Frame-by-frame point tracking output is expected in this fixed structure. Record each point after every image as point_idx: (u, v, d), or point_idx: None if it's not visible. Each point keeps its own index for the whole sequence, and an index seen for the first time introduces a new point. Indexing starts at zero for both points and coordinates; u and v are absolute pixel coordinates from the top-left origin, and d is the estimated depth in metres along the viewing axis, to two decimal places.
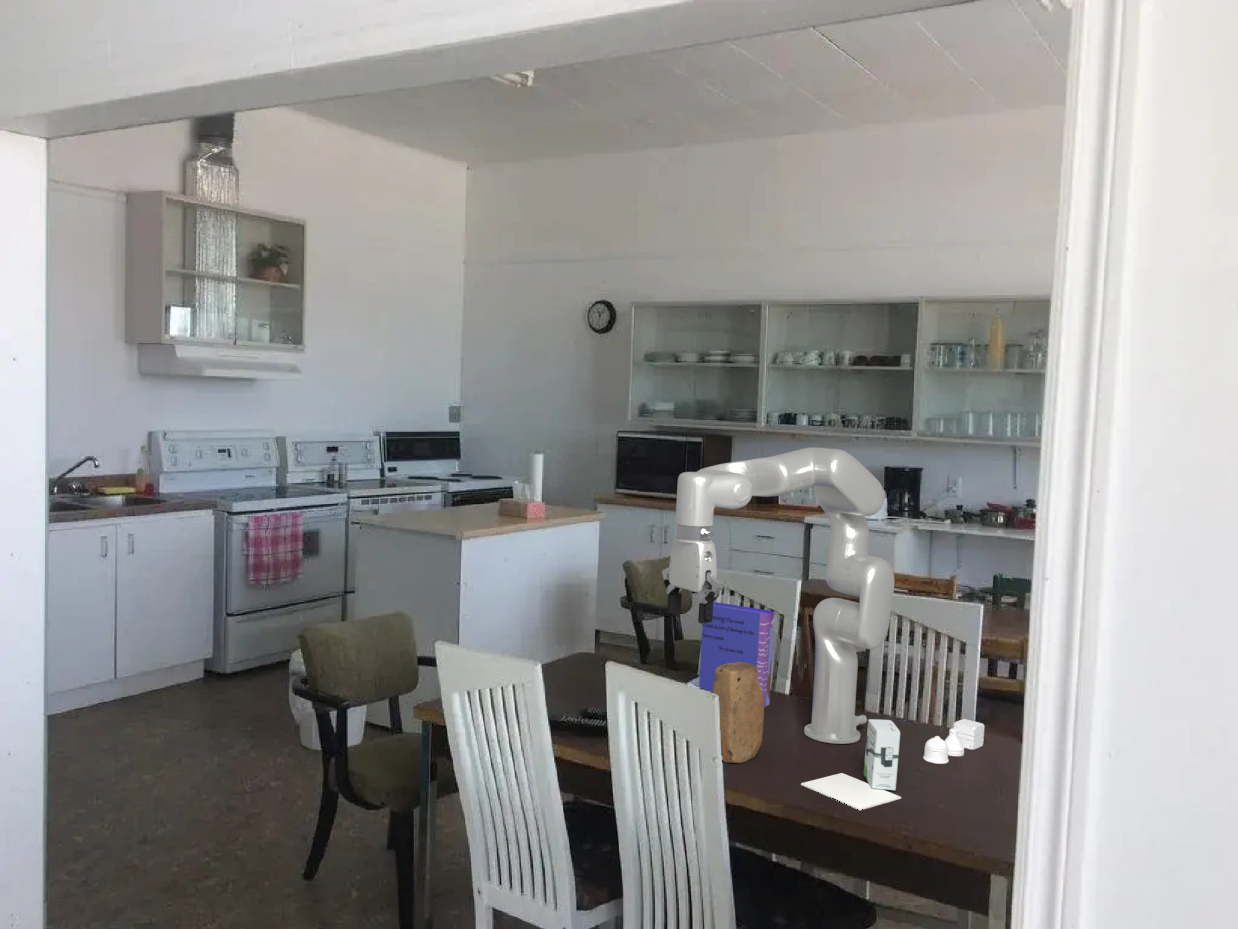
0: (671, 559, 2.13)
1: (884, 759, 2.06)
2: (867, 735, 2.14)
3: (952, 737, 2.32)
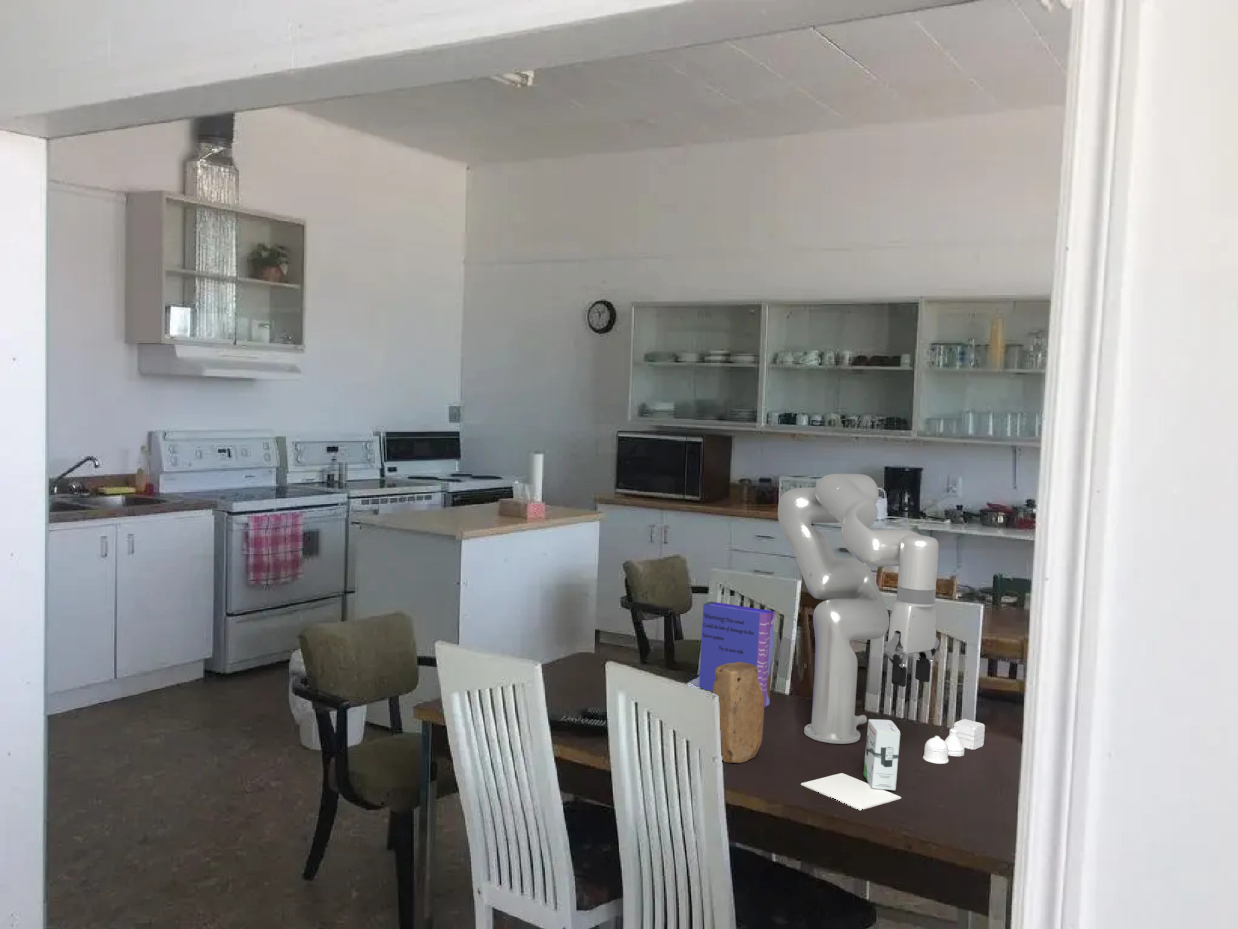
0: (910, 628, 2.10)
1: (884, 759, 2.06)
2: (867, 735, 2.14)
3: (952, 736, 2.32)
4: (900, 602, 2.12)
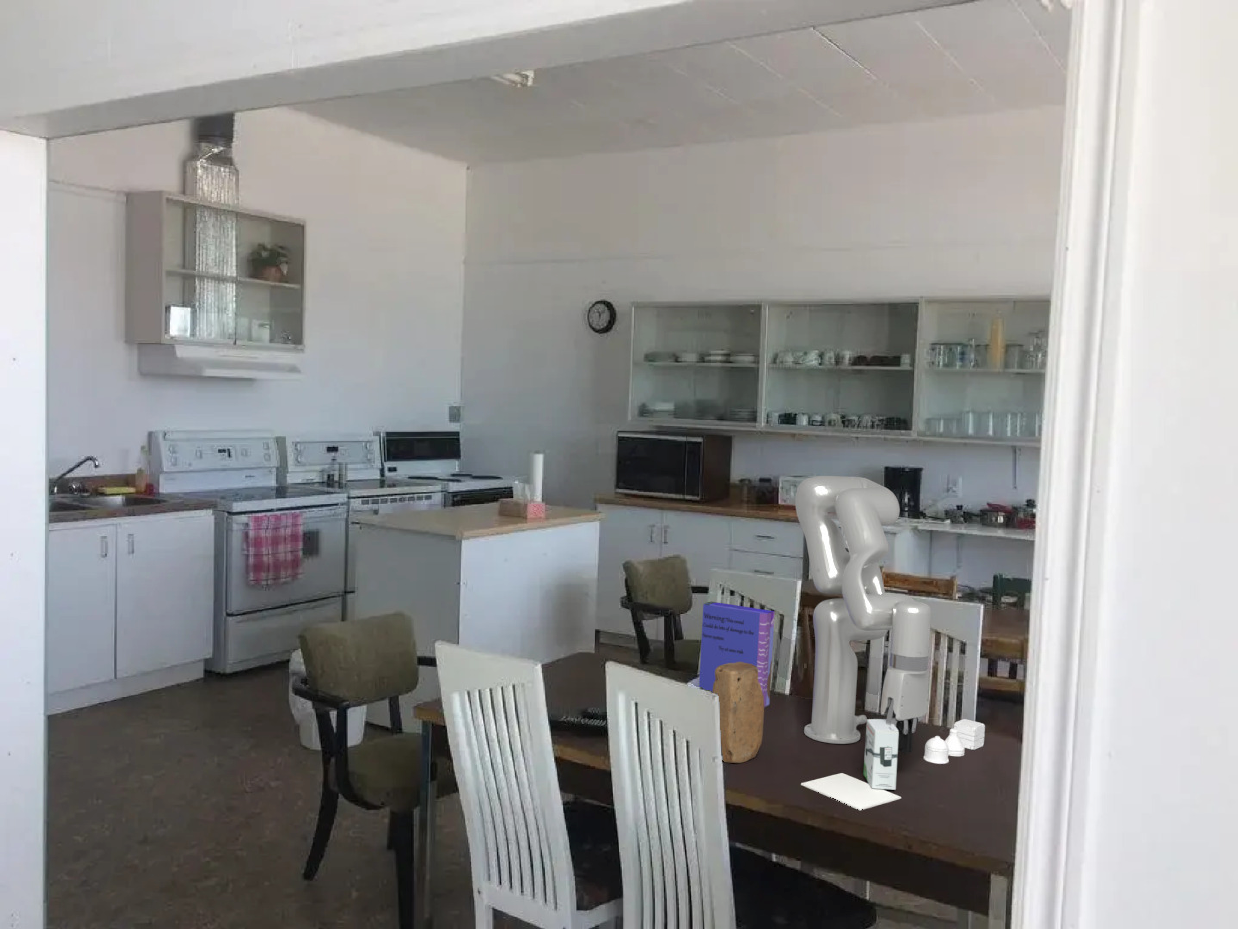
0: (903, 695, 2.10)
1: (883, 759, 2.06)
2: (866, 735, 2.14)
3: (952, 736, 2.32)
4: (893, 668, 2.12)
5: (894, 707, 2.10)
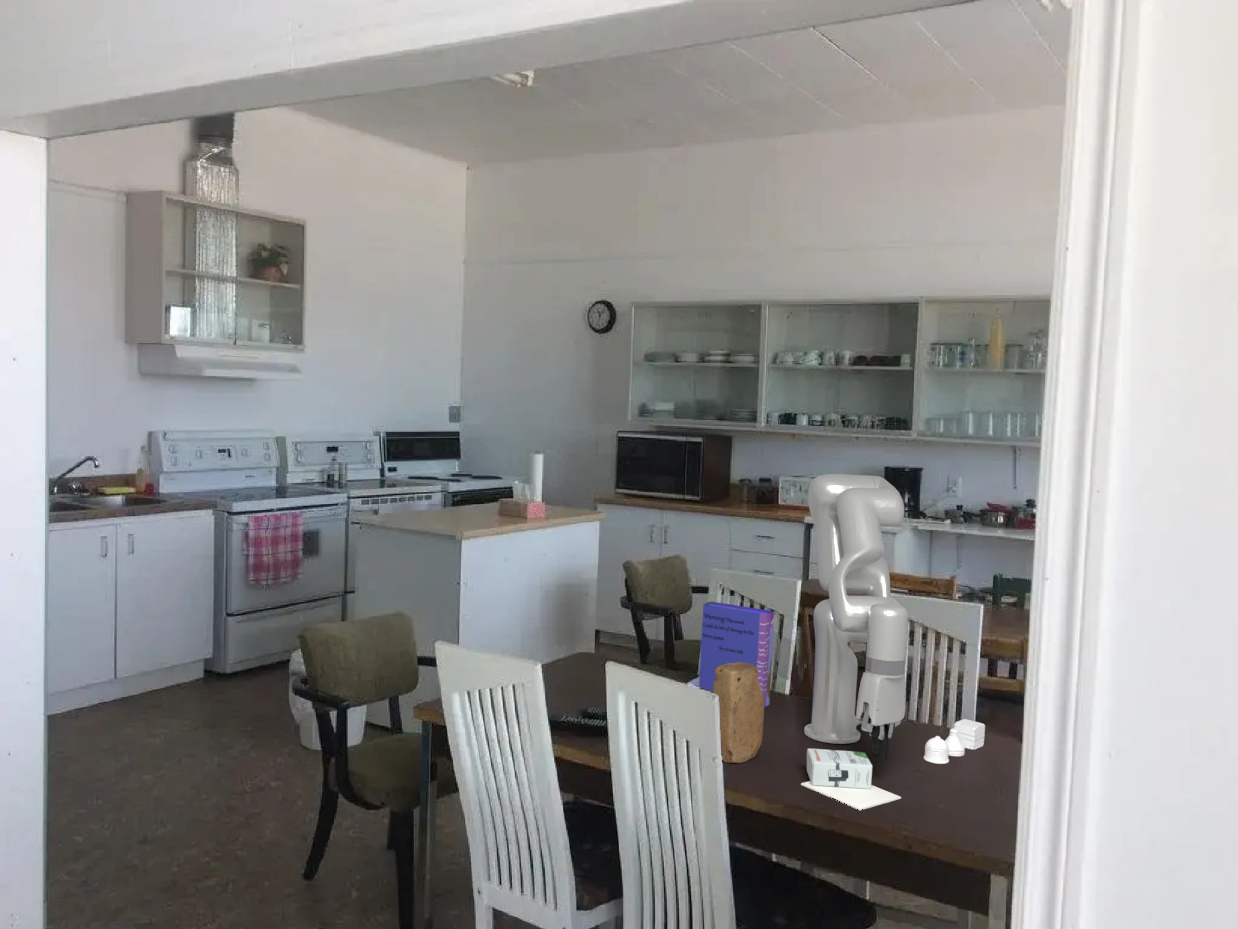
0: (879, 699, 2.05)
1: (840, 778, 2.06)
2: None
3: (952, 737, 2.32)
4: (869, 673, 2.08)
5: (870, 712, 2.06)
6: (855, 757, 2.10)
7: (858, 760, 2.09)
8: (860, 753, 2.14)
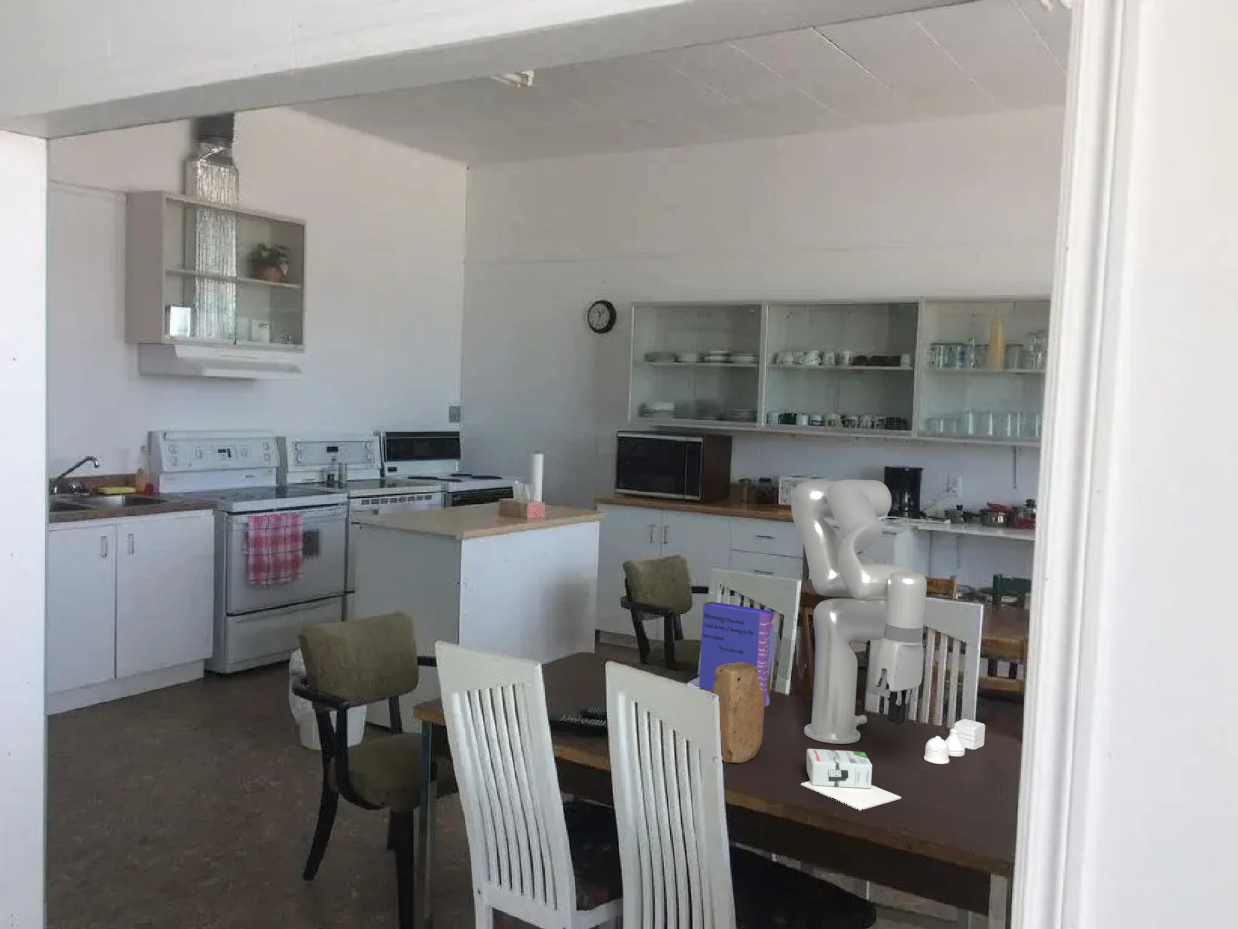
0: (897, 666, 2.08)
1: (840, 777, 2.06)
2: None
3: (952, 737, 2.32)
4: (887, 639, 2.11)
5: (888, 678, 2.09)
6: (855, 757, 2.10)
7: (858, 759, 2.09)
8: (860, 752, 2.14)
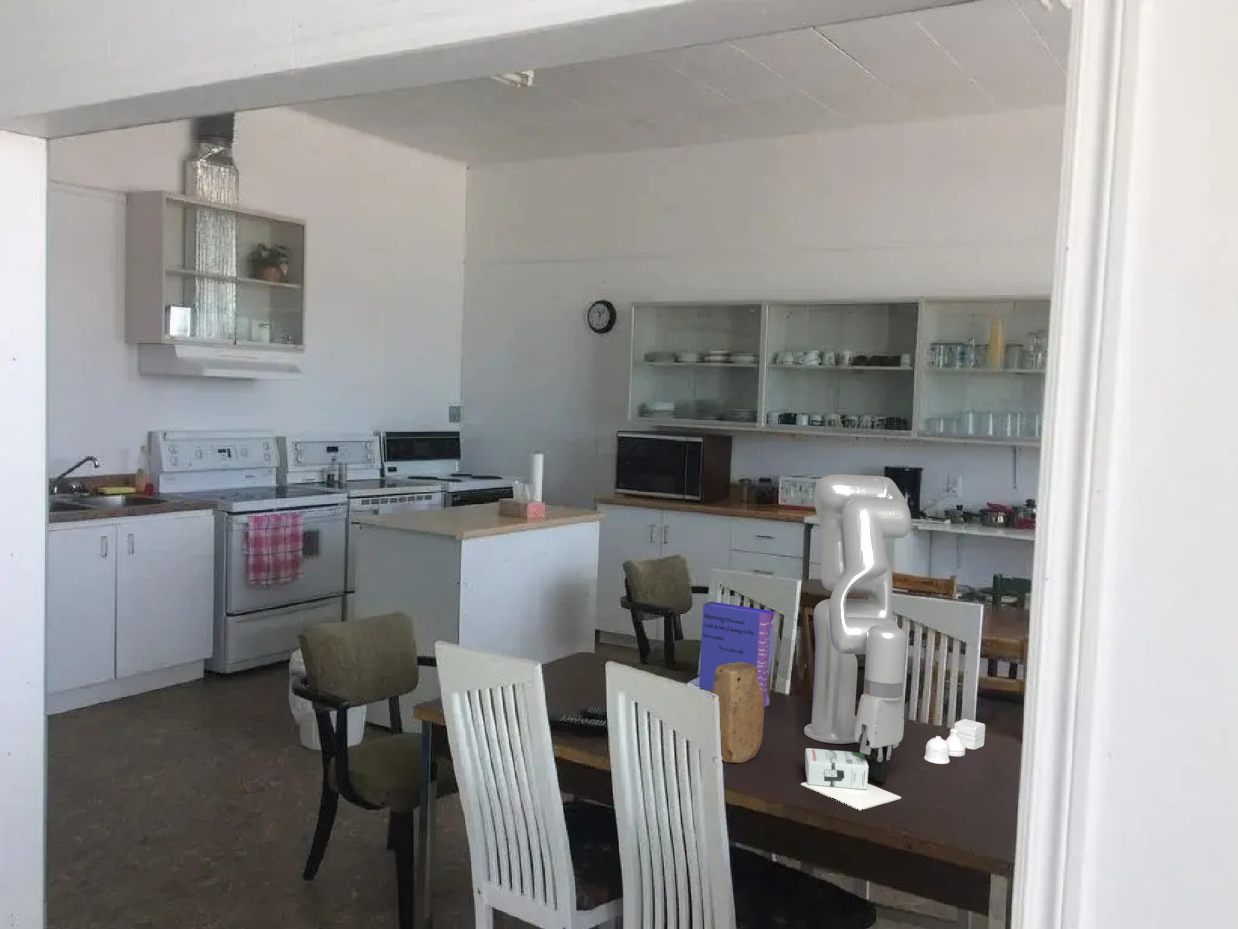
0: (877, 722, 2.05)
1: (836, 778, 2.06)
2: None
3: (952, 737, 2.32)
4: (867, 695, 2.08)
5: (868, 734, 2.06)
6: (853, 758, 2.10)
7: (855, 760, 2.09)
8: (859, 753, 2.13)
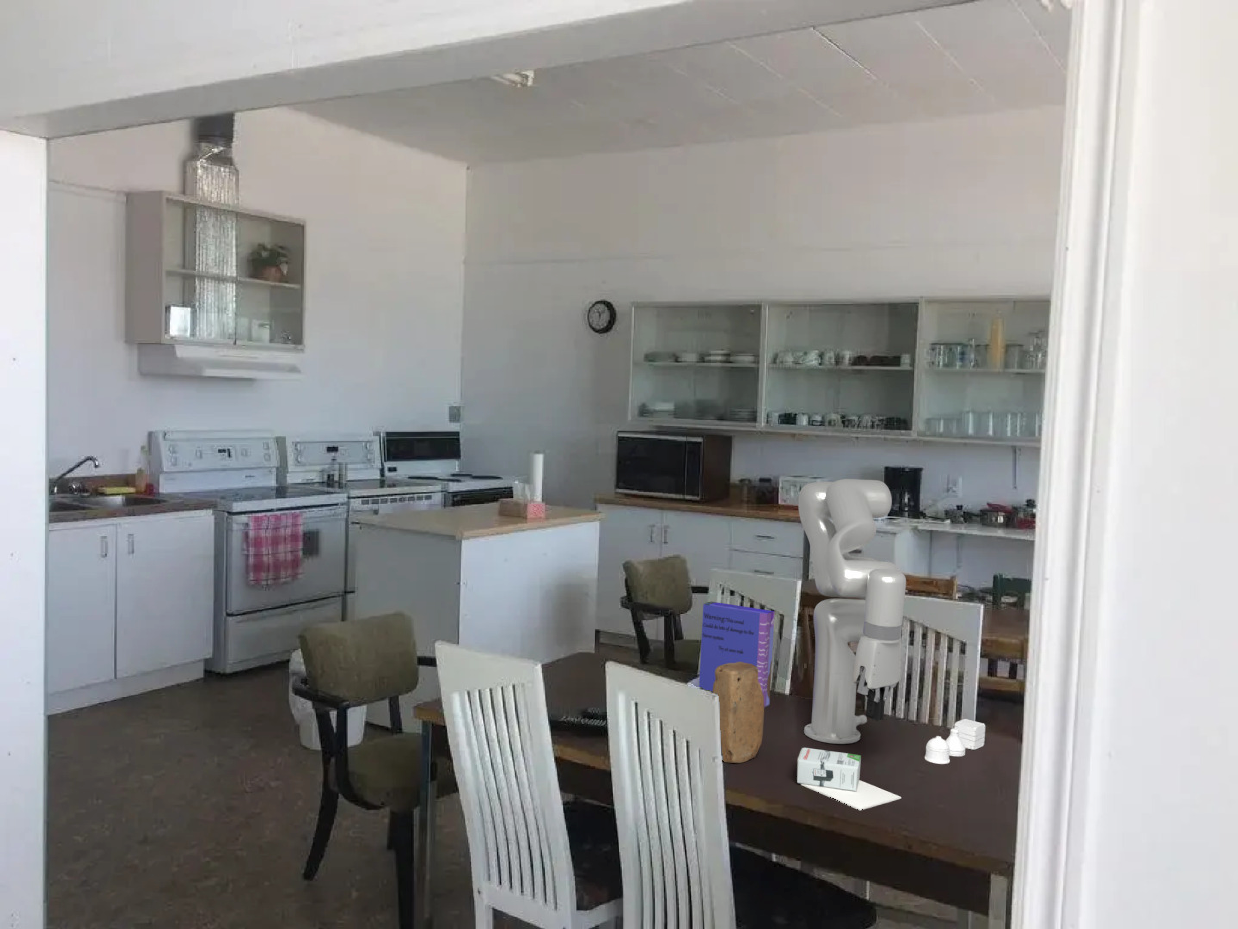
0: (875, 664, 2.08)
1: (825, 777, 2.06)
2: None
3: (953, 737, 2.32)
4: (866, 637, 2.10)
5: (866, 676, 2.09)
6: (845, 759, 2.09)
7: (847, 761, 2.08)
8: (855, 755, 2.12)
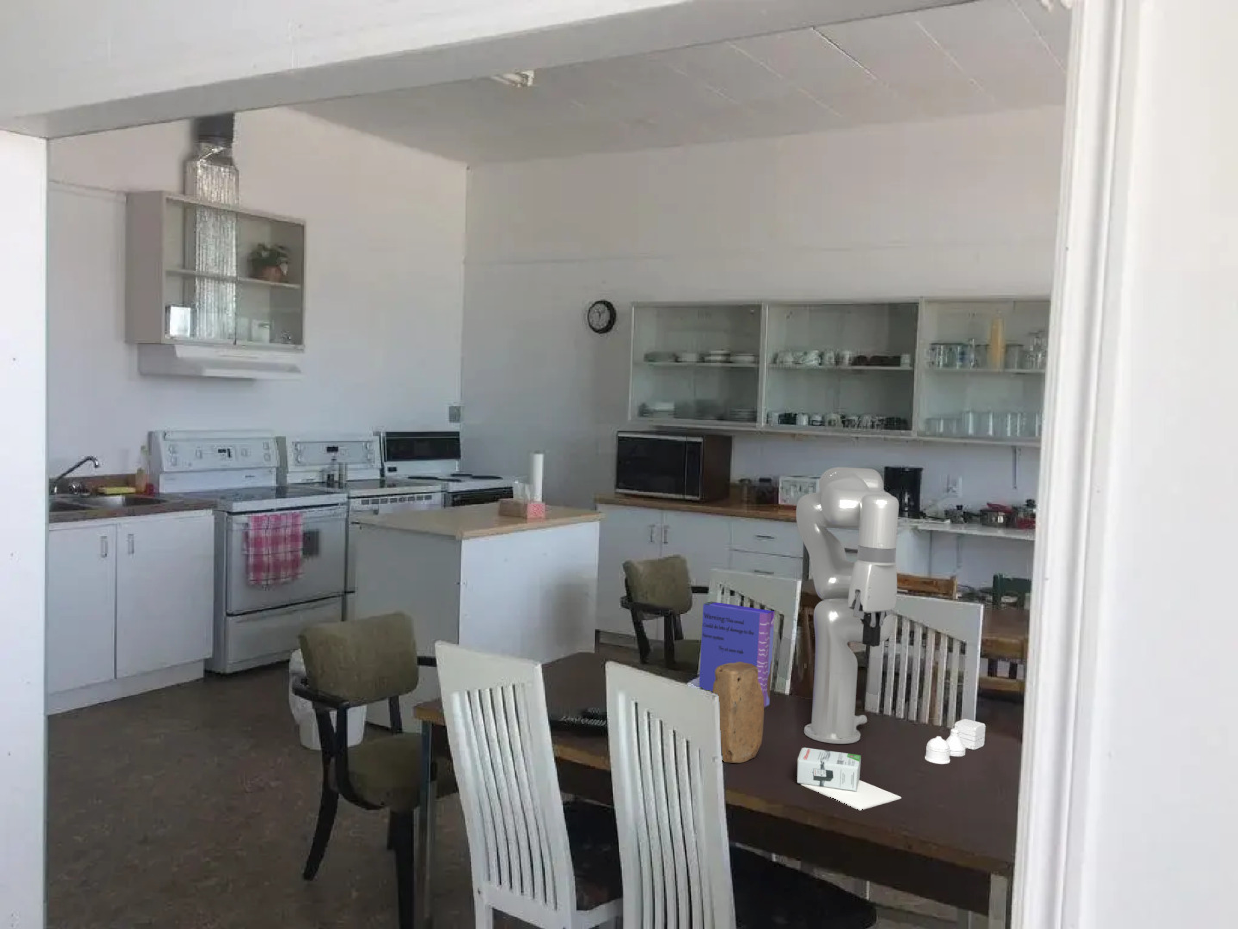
0: (870, 586, 2.09)
1: (825, 777, 2.06)
2: None
3: (953, 737, 2.32)
4: (860, 561, 2.11)
5: (861, 599, 2.09)
6: (845, 759, 2.09)
7: (847, 761, 2.08)
8: (855, 755, 2.12)
